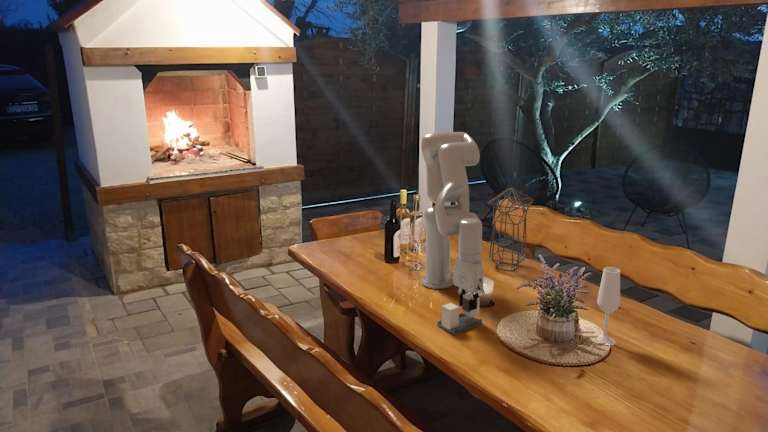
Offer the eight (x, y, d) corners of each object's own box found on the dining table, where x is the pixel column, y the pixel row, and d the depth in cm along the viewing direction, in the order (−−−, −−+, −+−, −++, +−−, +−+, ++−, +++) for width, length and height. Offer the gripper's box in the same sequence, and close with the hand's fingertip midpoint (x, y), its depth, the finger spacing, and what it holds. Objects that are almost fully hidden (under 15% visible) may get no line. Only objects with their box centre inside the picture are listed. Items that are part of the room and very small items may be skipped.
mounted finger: (451, 321, 195) (452, 302, 194) (459, 325, 192) (460, 306, 190) (441, 325, 193) (441, 305, 191) (449, 329, 190) (450, 309, 188)
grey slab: (465, 315, 202) (465, 311, 202) (482, 323, 196) (482, 319, 195) (437, 325, 195) (437, 321, 194) (453, 334, 188) (453, 330, 188)
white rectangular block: (470, 310, 200) (471, 291, 198) (479, 314, 197) (479, 295, 195) (461, 314, 197) (461, 295, 195) (469, 318, 194) (469, 298, 192)
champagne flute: (615, 337, 186) (623, 267, 179) (616, 347, 180) (624, 274, 173) (593, 334, 188) (600, 265, 181) (593, 344, 182) (600, 272, 175)
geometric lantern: (530, 265, 250) (536, 186, 240) (517, 277, 237) (523, 195, 227) (496, 258, 258) (500, 181, 248) (482, 269, 245) (485, 189, 235)
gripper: (444, 251, 195) (443, 302, 200) (479, 265, 182) (477, 318, 187) (460, 247, 199) (458, 296, 204) (496, 260, 186) (494, 312, 191)
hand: (468, 306), depth 196 cm, fingers closed on white rectangular block, 3 cm apart
